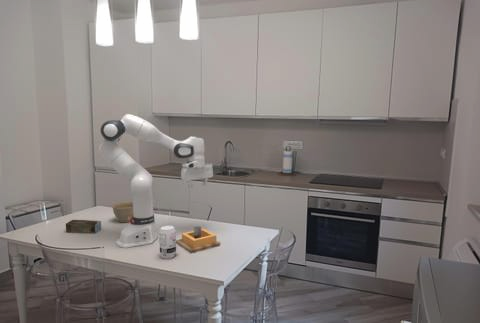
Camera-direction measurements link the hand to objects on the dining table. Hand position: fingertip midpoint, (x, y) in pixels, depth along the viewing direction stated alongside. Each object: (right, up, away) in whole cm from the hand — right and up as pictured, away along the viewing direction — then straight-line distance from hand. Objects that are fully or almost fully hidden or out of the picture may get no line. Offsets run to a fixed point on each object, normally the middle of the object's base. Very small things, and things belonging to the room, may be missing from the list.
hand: (197, 186), depth 204 cm
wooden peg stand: (+2, -31, -13) cm, 34 cm away
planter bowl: (-53, -26, +30) cm, 66 cm away
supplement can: (-12, -34, -29) cm, 46 cm away
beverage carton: (-71, -29, +8) cm, 77 cm away
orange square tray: (+2, -30, -13) cm, 32 cm away
